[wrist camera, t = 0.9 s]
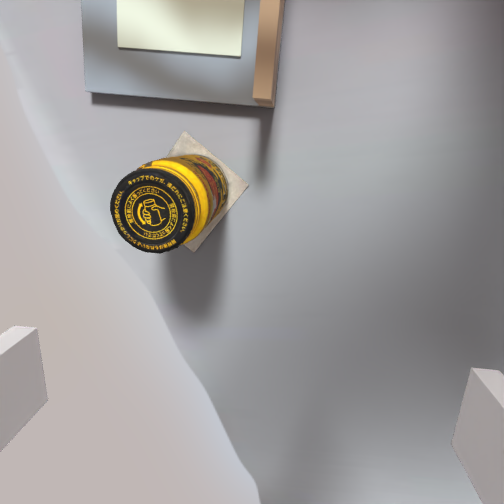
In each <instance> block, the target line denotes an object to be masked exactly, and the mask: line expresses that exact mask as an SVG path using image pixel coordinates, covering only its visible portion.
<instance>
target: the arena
mask: <svg viewBox="0 0 504 504" xmlns="http://www.w3.org/2000/svg"><path fill="white" fill-rule="evenodd" d="M284 7H285V0H81V11H82V31H83V52H84V72H85V91H87V92H91V93H101V94H113V95H125V96H137V97H148V98H160V99H172V100H183V101H195V102H207V103H219V104H230V105H242V106H254V107H266V108H275V98H276V88H277V78H278V68H279V57H280V47H281V37H282V27H283V17H284Z"/></svg>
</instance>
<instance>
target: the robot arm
mask: <svg viewBox="0 0 504 504" xmlns="http://www.w3.org/2000/svg"><path fill="white" fill-rule="evenodd" d="M47 401H48V398H47V391H46V384H45V377H44V371H43V364H42V358H41V351H40V344H39V338H38V331H37V328H33V327H23V326H13V327H11V328H10V329H8V330H7V331H5V332H4V333H3V334H1V335H0V452H1V451H2V450H3V448H4V447H5V446H6V445H7V444H8V443H9V442H10V441H11V440H12V439H13V438H14V437H15V436H16V434H17V433H18V432H19V431H20V430H21V429H22V428H23V427H24V426H25V425H26V424H27V422H28V421H29V420H30V419H31V418H32V417H33V416H34V415H35V414H36V413H37V412H38V411H39V409H40V408H41V407H42V406H43V405H44V404H45V403H46V402H47ZM451 445H452V447H453V449H454V451H455V452H456V454H457V456H458V458H459V460H460V462H461V464H462V466H463V467H464V469H465V471H466V473H467V475H468V477H469V479H470V480H471V482H472V484H473V486H474V488H475V490H476V492H477V493H478V495H479V497H480V499H481V501H482V503H483V504H504V375H503V374H502V373H501V372H500V371H499V370H491V369H480V368H471V370H470V374H469V378H468V381H467V385H466V389H465V393H464V397H463V400H462V404H461V408H460V412H459V416H458V419H457V423H456V427H455V431H454V435H453V438H452V442H451Z"/></svg>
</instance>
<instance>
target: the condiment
mask: <svg viewBox="0 0 504 504" xmlns="http://www.w3.org/2000/svg"><path fill="white" fill-rule="evenodd" d="M247 187H248V184H247V183H246V182H245V181H244V180H243V179H241V178H240V177H239V176H238V175H237V174H235V173H234V172H233V171H232V170H231V169H230V168H228V167H227V166H226V165H225V164H224V163H222V162H221V161H220V160H219V159H218V158H216V157H215V156H214V155H213V154H212V153H210V152H209V151H208V150H207V149H206V148H204V147H203V146H202V145H201V144H200V143H198V142H197V141H196V140H195V139H193V138H192V137H191V136H190V135H189V134H187V133H186V132H185V131H184V132H183V133H182V135H181V136H180V138H179V139H178V141H177V142H176V144H175V145H174V147H173V148H172V149H171V151H170V152H169V154H168V155H167V157H166V158H163V159H159V160H155V161H151V162H148V163H146V164H143V165H142V166H141V167H139V168H138V169H137V170H136V171H133V172H131V173H130V174H128V175H127V176H125V177H124V178H123V179H122V180H121V181H120V182H119V183H118V185H117V187H116V189H115V190H114V192H113V195H112V198H111V202H110V211H111V215H112V218H113V222H114V224H115V226H116V228H117V231H118V233H119V234H120V235H121V236H122V237H123V239H124V240H125V241H127V242H128V243H129V244H130V245H132V246H133V247H135V248H137V249H139V250H141V251H144V252H151V253H163V252H167V251H170V250H172V249H174V248H178V246H180V245H182V244H184V245H185V246H186V247H187V248H188V249H190V250H191V251H192V252H195V251H196V250H197V248H198V247H199V246H200V245H201V243H202V242H203V241H204V240H205V239H206V237H207V236H208V235H209V233H210V232H211V231H212V230H213V229H214V227H215V226H216V225H217V224H218V222H219V221H220V220H221V219H222V217H223V216H224V215H225V214H226V213H227V211H228V210H229V209H230V208H231V206H232V205H233V204H234V203H235V201H236V200H237V199H238V198H239V196H240V195H241V194H242V193H243V191H244V190H245V189H246V188H247Z"/></svg>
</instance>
